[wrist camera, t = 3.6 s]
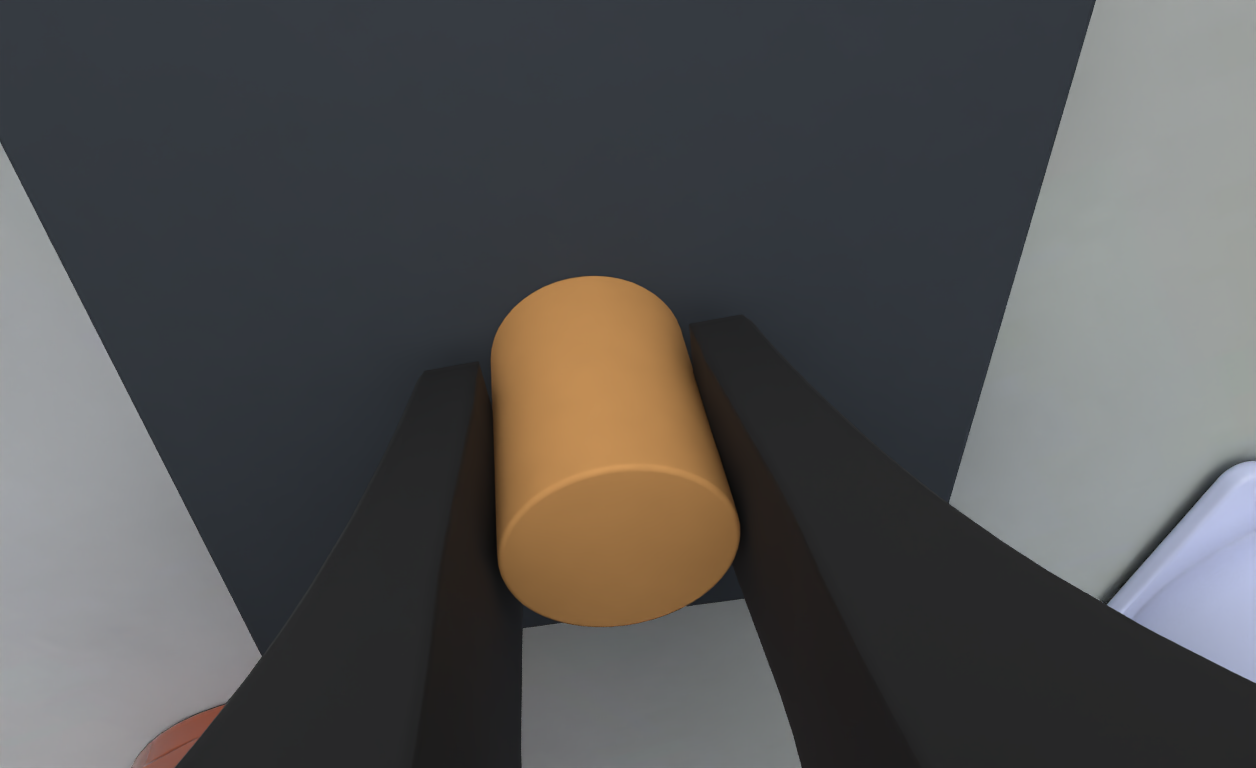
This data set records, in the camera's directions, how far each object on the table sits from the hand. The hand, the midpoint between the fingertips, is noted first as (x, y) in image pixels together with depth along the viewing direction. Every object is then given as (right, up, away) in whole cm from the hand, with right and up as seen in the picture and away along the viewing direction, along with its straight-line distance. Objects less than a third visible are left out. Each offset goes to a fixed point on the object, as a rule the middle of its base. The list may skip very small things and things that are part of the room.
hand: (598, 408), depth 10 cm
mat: (0, +1, +1) cm, 2 cm away
